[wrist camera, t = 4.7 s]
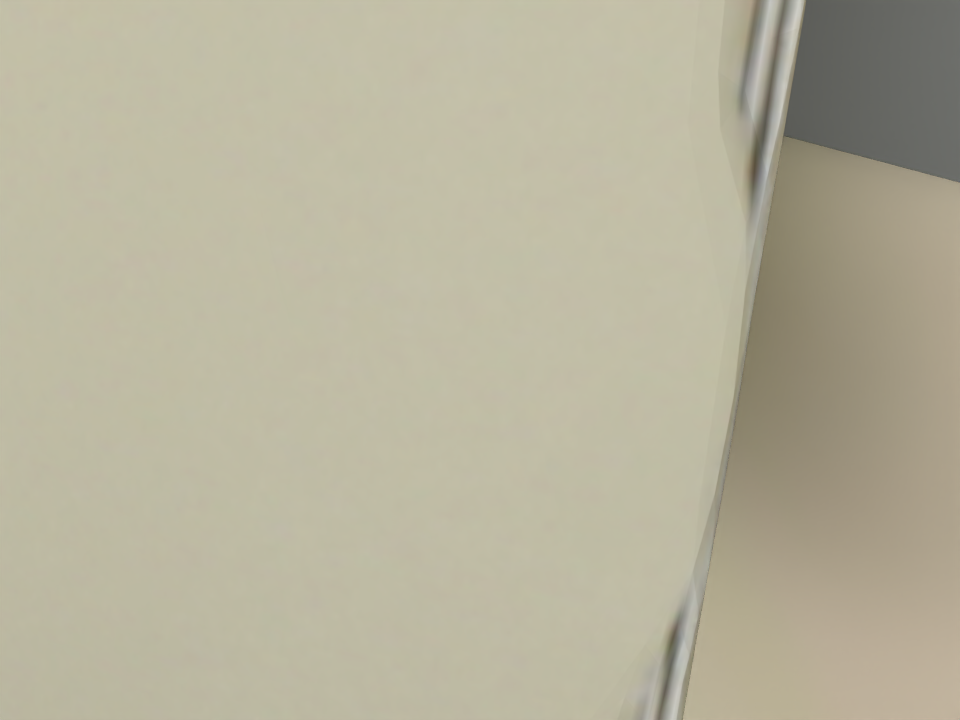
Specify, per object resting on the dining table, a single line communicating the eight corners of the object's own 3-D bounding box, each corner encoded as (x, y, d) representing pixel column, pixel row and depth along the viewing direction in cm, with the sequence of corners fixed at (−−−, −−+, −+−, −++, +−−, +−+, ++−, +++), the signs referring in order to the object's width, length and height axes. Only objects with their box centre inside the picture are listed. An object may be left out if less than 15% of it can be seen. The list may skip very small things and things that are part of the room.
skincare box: (489, 68, 15) (-326, -707, 3) (761, 94, 14) (985, -889, 2) (435, 448, 16) (-386, 921, 4) (690, 499, 15) (582, 1327, 3)
